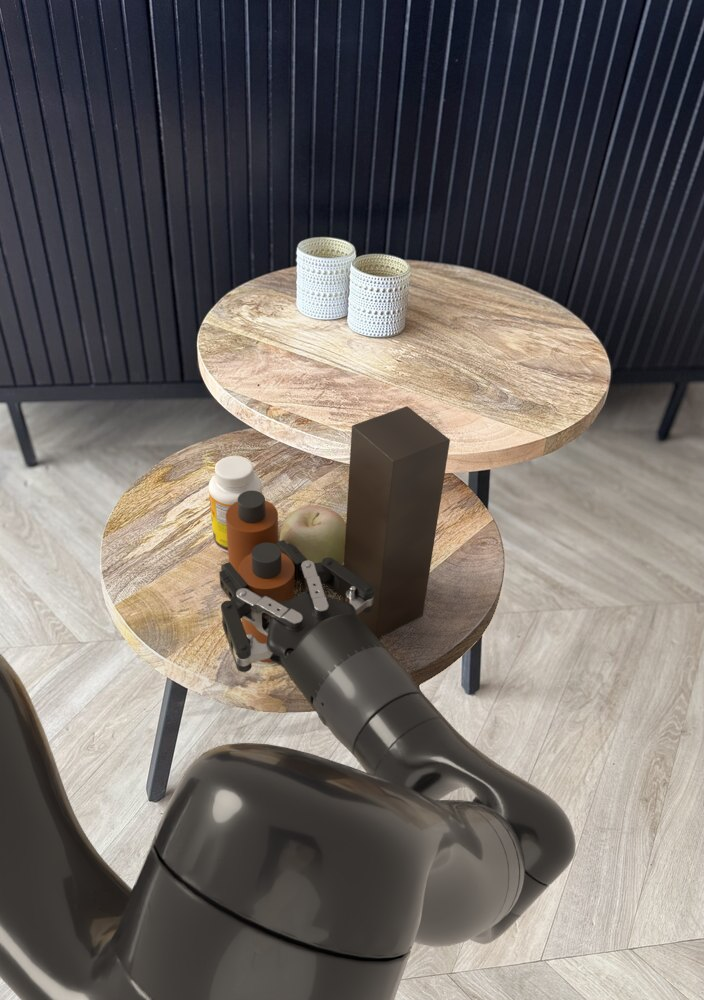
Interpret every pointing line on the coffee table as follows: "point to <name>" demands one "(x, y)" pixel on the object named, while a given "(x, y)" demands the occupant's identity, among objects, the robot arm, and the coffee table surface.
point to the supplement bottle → (229, 492)
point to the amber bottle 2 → (267, 579)
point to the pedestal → (394, 513)
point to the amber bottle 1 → (250, 525)
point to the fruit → (316, 533)
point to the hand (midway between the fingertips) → (252, 559)
